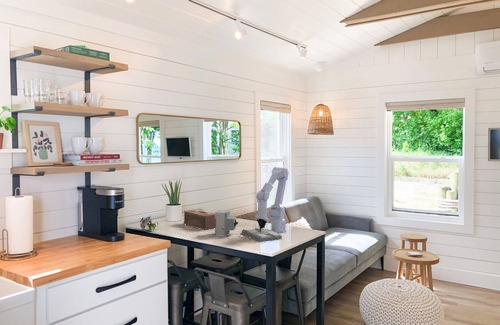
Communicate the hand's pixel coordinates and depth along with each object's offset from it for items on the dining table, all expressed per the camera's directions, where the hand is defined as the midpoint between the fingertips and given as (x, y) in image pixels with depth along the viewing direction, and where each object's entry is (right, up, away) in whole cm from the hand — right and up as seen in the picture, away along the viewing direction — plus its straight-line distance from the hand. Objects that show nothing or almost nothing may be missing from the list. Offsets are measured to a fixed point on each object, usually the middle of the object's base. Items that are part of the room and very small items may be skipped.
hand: (261, 230), depth 251 cm
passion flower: (-77, -2, +13) cm, 78 cm away
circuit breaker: (-23, -3, +4) cm, 24 cm away
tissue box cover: (-42, -2, +29) cm, 51 cm away
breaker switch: (+1, -2, -3) cm, 3 cm away
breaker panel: (0, -4, +1) cm, 4 cm away
